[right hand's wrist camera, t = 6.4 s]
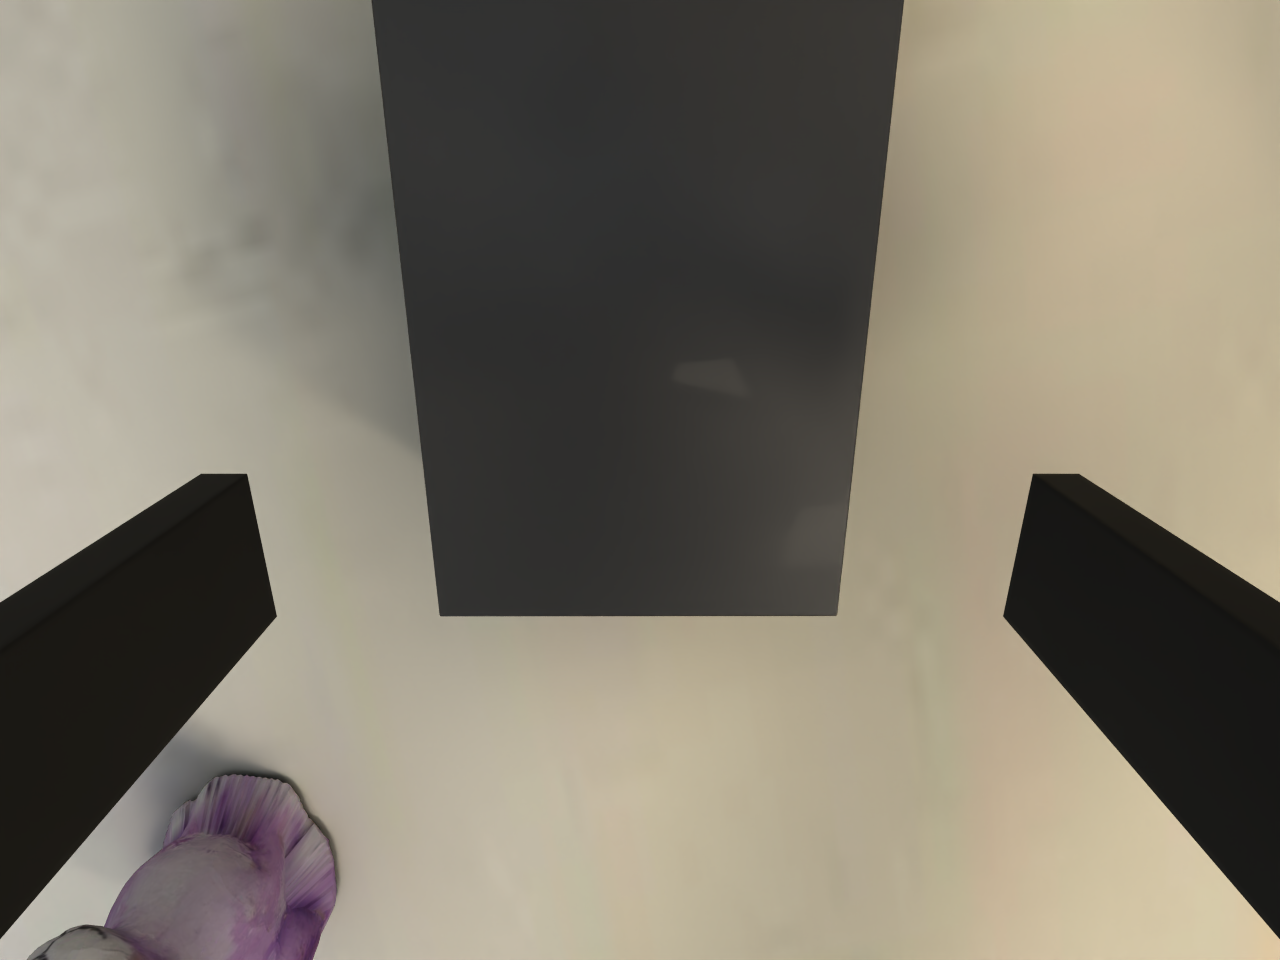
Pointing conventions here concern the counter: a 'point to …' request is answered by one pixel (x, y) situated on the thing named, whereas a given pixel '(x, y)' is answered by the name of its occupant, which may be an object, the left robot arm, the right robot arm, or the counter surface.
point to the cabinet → (638, 293)
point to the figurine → (220, 884)
